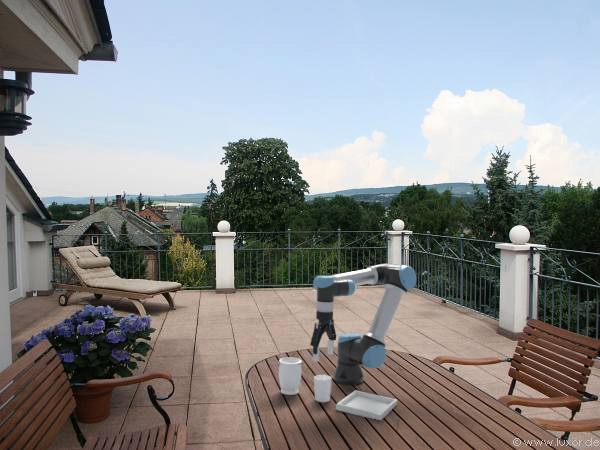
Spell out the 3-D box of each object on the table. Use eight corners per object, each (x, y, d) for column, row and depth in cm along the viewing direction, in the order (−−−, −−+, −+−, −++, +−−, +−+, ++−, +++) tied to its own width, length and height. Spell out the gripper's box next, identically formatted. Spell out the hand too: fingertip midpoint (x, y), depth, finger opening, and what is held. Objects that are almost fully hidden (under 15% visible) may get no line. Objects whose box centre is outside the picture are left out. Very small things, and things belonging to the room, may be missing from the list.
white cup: (329, 403, 208) (330, 381, 208) (312, 401, 210) (312, 379, 210) (332, 397, 216) (332, 375, 216) (315, 395, 218) (315, 373, 218)
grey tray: (355, 395, 219) (355, 390, 219) (397, 405, 209) (397, 399, 209) (336, 409, 202) (336, 403, 202) (380, 421, 192) (380, 415, 192)
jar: (303, 390, 224) (304, 358, 224) (296, 397, 214) (297, 364, 214) (282, 386, 228) (283, 355, 227) (274, 394, 218) (275, 361, 218)
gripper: (330, 305, 225) (328, 350, 226) (303, 313, 204) (301, 362, 204) (344, 307, 221) (342, 353, 222) (318, 315, 200) (316, 365, 200)
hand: (323, 357), depth 213 cm, fingers open, 13 cm apart
